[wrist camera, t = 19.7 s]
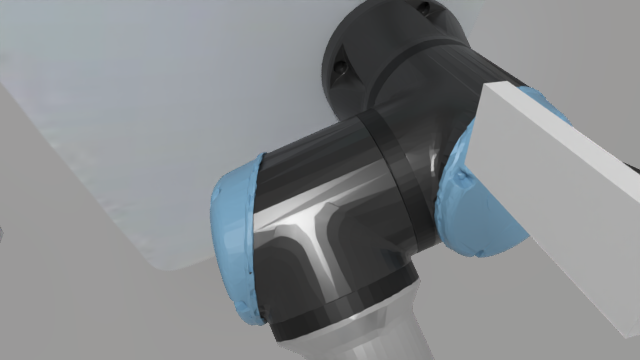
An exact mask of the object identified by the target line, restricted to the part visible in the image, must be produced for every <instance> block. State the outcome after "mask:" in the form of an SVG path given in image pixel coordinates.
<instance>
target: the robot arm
mask: <svg viewBox="0 0 640 360" xmlns="http://www.w3.org/2000/svg"><path fill="white" fill-rule="evenodd" d="M322 85H323V90H324V93H325V96H326V99H327V101H328V103H329V104H330V106H331V108H332V109H333V111H334V112H335V114H336V115H337V117H338V118H339V119H340V120H341V121H340V122H338V123H336V124H334V125H331V126H329V127H327V128H324V129H322V130H320V131H318V132H315V133H313V134H311V135H309V136H306V137H304V138H302V139H299V140H297V141H295V142H293V143H290V144H288V145H286V146H283V147H281V148H279V149H277V150H274V151H272V152H270V153H267V152H264V153H261V154H259V155H258V156H257V158H256V159H255V160H253V161H251V162H249V163H247V164H245V165H243V166H241V167H239V168H237V169H235V170H233V171H231V172H229V173H227V174H225V175H224V176H223V177H222V178H221V179H220V180H219V181H218V182H217V184H216V185H215V187H214V190H213V193H212V196H211V207H210V223H211V232H212V239H213V244H214V250H215V254H216V258H217V262H218V266H219V269H220V272H221V275H222V279H223V282H224V285H225V288H226V290H227V293H228V295H229V297H230V299H231V300H232V301H234V304H235V307H236V311H237V312H238V314H239V316H240V317H241V319H242V320H244V321H245V322H246V323H248V324H250V325H259V326H262V325H264V324H266V323H267V322H268V323H269V324H270V327H271V329H272V332H273V334H274V337H275V339H276V342H277V344H278V345H279V346H280V347H283V348H285V349H288V350H290V351H293V352H295V353H298V354H300V355H302V356H303V357H304V358H305V359H307V360H435V359H434V357H433V355H432V353H431V350H430V348H429V346H428V344H427V342H426V339H425V337H424V335H423V333H422V331H421V329H420V326H419V325H418V322H417V320H416V318H415V316H414V313H413V311H412V309H413V301H414V299H415V296H416V293H417V290H418V288H419V285H420V282H421V280H420V278H419V276H418V274H417V271H416V269H415V267H414V265H413V263H412V261H411V256H412V255H414V254H416V253H418V252H420V251H422V250H425V249H427V248H429V247H432V246H434V245H436V244H439V243H441V242H444V244H445V245H446V247H448V248H450V249H452V250H454V251H455V252H457V253H458V254H461V255H463V256H467V257H472V256H474V255H475V256H477V257H489V256H493V255H495V254H499V253H501V252H504V251H506V250H508V249H510V248H512V247H514V246H516V245H517V244H519V243H520V242H522V241H524V240H525V239H526V238H528V237H529V236H532V238H533V239H534V240H535V241H536V242H537V243H538V244H539V246H540V247H541V248H542V249H543V250H544V251H545V252H546V253H547V254H548V255H549V256H550V257H551V259H552V260H553V261H554V262H555V263H556V264H557V265H558V266H559V267H560V268H561V269H562V270H563V272H565V274H566V275H567V276H568V277H569V278H570V279H571V280H572V281H573V282H574V283H575V285H576V286H577V287H578V288H579V289H580V290H581V291H582V292H583V293H584V294H585V295H586V296H587V298H588V299H589V300H590V301H591V302H592V303H593V304H594V305H595V306H596V307H597V308H598V309H599V311H600V312H601V313H602V314H603V315H604V316H605V317H606V318H607V319H608V320H609V321H610V322H611V323H612V325H613V326H614V327H615V328H616V329H617V330H618V331H619V332H620V333H621V334H622V335H623V336H624V338H629V337H633V336H637V335H640V170H639V169H637V168H635V167H633V166H630V165H628V164H626V163H624V162H621V161H620V160H618V159H617V158H615V157H614V156H613V155H611V154H610V153H608V152H607V151H606V150H604V149H603V148H601V147H600V146H598V145H597V144H596V143H594V142H593V141H591V140H590V139H589V138H587V137H586V136H584V135H583V134H581V133H580V132H579V131H577V130H576V129H575V128H573V126H572V124H571V123H570V121H569V120H568V119H567V118H566V117H565V116H564V115H563V114H562V113H561V112H560V111H559V110H557V109H556V108H555V107H554V106H553V105H552V104H550V103H549V102H548V101H547V100H546V98H545V97H544V96H543V95H542V93H540V92H539V91H538V90H535V89H534V88H531V87H529V86H527V85H526V84H524V83H523V82H521V81H520V80H518V79H517V78H515V77H514V76H512V75H510V74H509V73H508V72H506V71H504V70H503V69H501V68H500V67H498V66H497V65H495V64H494V63H492V62H491V61H489V60H488V59H486V58H485V57H483V56H482V55H480V54H479V53H477V52H475V51H474V50H472V49H471V47H470V45H469V43H468V41H467V38H466V36H465V34H464V32H463V29H462V27H461V25H460V23H459V22H458V20H457V19H456V17H455V16H454V15H453V14H452V13H451V12H450V11H449V10H448V9H447V8H446V7H445V6H443V5H442V4H440V3H439V2H437V1H435V0H367V1H365V2H364V3H362V4H360V5H359V6H358V7H356V8H355V9H354V10H353V11H351V12H350V13H349V14H348V15H347V16H346V17H345V18H344V19H343V21H342V22H341V23H340V24H339V26H338V27H337V28H336V30H335V31H334V33H333V35H332V37H331V38H330V40H329V43H328V45H327V47H326V50H325V53H324V57H323V63H322ZM2 236H3V231H2V229H1V227H0V241H1V239H2Z"/></svg>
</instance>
